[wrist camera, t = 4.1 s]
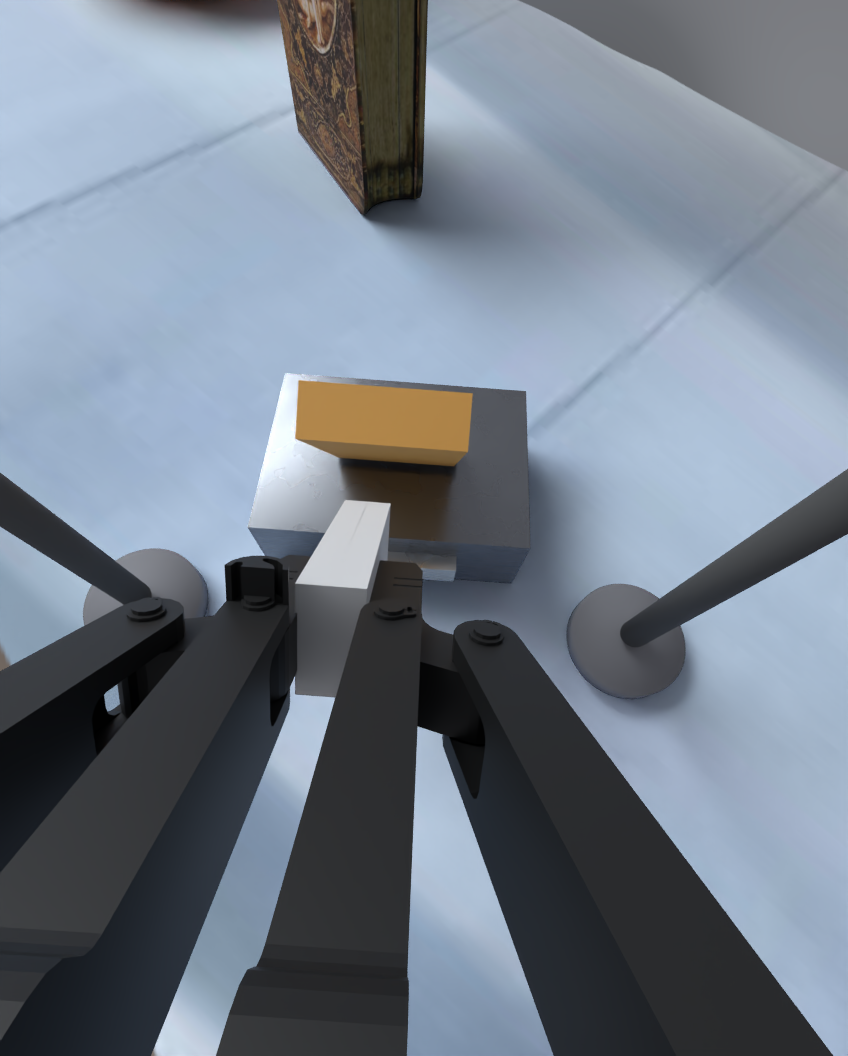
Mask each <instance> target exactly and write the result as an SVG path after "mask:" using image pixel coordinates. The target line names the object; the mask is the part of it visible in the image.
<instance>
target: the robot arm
mask: <svg viewBox="0 0 848 1056" xmlns="http://www.w3.org/2000/svg"><path fill="white" fill-rule="evenodd" d="M390 506H391V503H379V502H366V501H353V500H345V501H344V503H343V504H342V506H341V508H340V509H339V511H338V513H337V514H336V516H335V518H334V519H333V521H332V523H331V524H330V526H329V528H328V529H327V531H326V533H325V534H324V536H323V538H322V539H321V541H320V543H319V544H318V546H317V548H316V549H315V551H314V553H313V554H312V556H299V555H287V556H285V557H283V558H281V559H279V558H277V557H270V556H249V557H242V558H239V559H235V560H232V561H230V562H229V563H227V564H226V565H225V581H226V602H225V603H224V604H223V606H222V607H221V608H220V609H219V610H218V612H217V613H216V614H215V615H214V616H208V617H198V618H186V619H184V607H183V606H182V605H181V604H180V602H177V601H175V600H172V599H165V598H160V597H152V598H151V597H150V598H143V599H141V600H138V601H133V602H130V603H128V604H125V605H123V606H120V607H118V608H116V609H115V610H113V611H111V612H109V613H107V614H105V615H103V616H102V617H100V618H98V619H96V620H94V621H92V622H91V623H89V624H87V625H85V626H83V627H81V628H79V629H78V630H76V631H74V632H72V633H70V634H68V635H67V636H65V637H63V638H61V639H59V640H57V641H56V642H54V643H52V644H50V645H48V646H46V647H44V648H43V649H41V650H39V651H37V652H35V653H33V654H32V655H30V656H28V657H26V658H24V659H22V660H20V661H19V662H17V663H15V664H13V665H11V666H9V667H8V668H6V669H4V670H2V671H0V1056H151V1054H152V1051H153V1049H154V1047H155V1044H156V1042H157V1039H158V1037H159V1034H160V1032H161V1029H162V1027H163V1024H164V1022H165V1019H166V1017H167V1014H168V1012H169V1009H170V1006H171V1004H172V1001H173V999H174V996H175V994H176V991H177V989H178V986H179V984H180V981H181V979H182V976H183V974H184V971H185V969H186V966H187V964H188V961H189V959H190V956H191V954H192V951H193V949H194V946H195V944H196V941H197V939H198V936H199V934H200V931H201V929H202V926H203V924H204V921H205V919H206V916H207V914H208V911H209V909H210V906H211V904H212V901H213V899H214V896H215V894H216V891H217V889H218V886H219V884H220V881H221V879H222V876H223V874H224V871H225V869H226V866H227V864H228V861H229V859H230V856H231V854H232V851H233V849H234V846H235V844H236V841H237V839H238V836H239V833H240V831H241V828H242V826H243V823H244V821H245V818H246V816H247V813H248V811H249V808H250V806H251V803H252V801H253V798H254V796H255V793H256V791H257V788H258V786H259V783H260V781H261V778H262V776H263V773H264V771H265V768H266V766H267V763H268V761H269V758H270V756H271V753H272V751H273V748H274V746H275V743H276V741H277V738H278V736H279V733H280V731H281V728H282V726H283V723H284V721H285V718H286V716H287V713H288V711H289V706H290V686H291V683H292V681H293V679H294V676H295V694H297V695H311V696H325V697H336V698H335V701H334V705H333V708H332V712H331V715H330V719H329V722H328V726H327V729H326V733H325V736H324V740H323V743H322V747H321V750H320V754H319V757H318V761H317V764H316V768H315V771H314V775H313V778H312V782H311V785H310V789H309V792H308V796H307V799H306V803H305V806H304V810H303V813H302V817H301V820H300V824H299V827H298V831H297V834H296V838H295V841H294V845H293V848H292V852H291V855H290V859H289V862H288V866H287V869H286V873H285V876H284V880H283V883H282V887H281V890H280V894H279V897H278V901H277V904H276V908H275V911H274V915H273V919H272V922H271V926H270V929H269V933H268V936H267V940H266V943H265V946H264V949H263V952H262V955H261V958H260V960H259V962H258V964H257V966H256V967H253V968H250V969H248V970H247V971H246V973H245V975H244V977H243V979H242V981H241V983H240V985H239V987H238V990H237V993H236V996H235V999H234V1001H233V1004H232V1007H231V1010H230V1013H229V1016H228V1019H227V1022H226V1025H225V1029H224V1032H223V1035H222V1038H221V1041H220V1045H219V1048H218V1051H217V1054H216V1056H407V1033H408V1001H409V980H408V977H407V966H408V940H409V915H410V891H411V867H412V843H413V819H414V795H415V771H416V747H417V726H419V727H422V728H425V729H428V730H431V731H434V732H437V733H440V734H443V737H442V739H443V747H444V750H445V753H446V756H447V758H448V761H449V764H450V767H451V770H452V772H453V775H454V778H455V781H456V784H457V786H458V789H459V792H460V795H461V798H462V800H463V803H464V806H465V809H466V812H467V814H468V817H469V820H470V823H471V826H472V828H473V831H474V834H475V837H476V840H477V842H478V845H479V848H480V851H481V854H482V856H483V859H484V862H485V865H486V868H487V870H488V873H489V876H490V879H491V882H492V884H493V887H494V890H495V893H496V896H497V898H498V901H499V904H500V907H501V910H502V912H503V915H504V918H505V921H506V924H507V926H508V929H509V932H510V935H511V938H512V940H513V943H514V946H515V949H516V952H517V954H518V957H519V960H520V963H521V965H522V968H523V971H524V974H525V977H526V979H527V982H528V985H529V988H530V991H531V993H532V996H533V999H534V1002H535V1005H536V1007H537V1010H538V1013H539V1016H540V1019H541V1021H542V1024H543V1027H544V1030H545V1033H546V1035H547V1038H548V1041H549V1044H550V1047H551V1049H552V1052H553V1055H554V1056H833V1055H832V1053H831V1052H830V1051H829V1049H828V1048H827V1047H826V1045H825V1044H824V1043H823V1041H822V1040H821V1039H820V1037H819V1036H818V1035H817V1033H816V1032H815V1031H814V1029H813V1028H812V1027H811V1025H810V1024H809V1023H808V1021H807V1020H806V1019H805V1017H804V1016H803V1015H802V1014H801V1012H800V1011H799V1010H798V1008H797V1007H796V1006H795V1004H794V1003H793V1002H792V1000H791V999H790V998H789V996H788V995H787V994H786V992H785V991H784V990H783V988H782V987H781V986H780V984H779V983H778V982H777V980H776V979H775V978H774V976H773V975H772V974H771V972H770V971H769V970H768V968H767V967H766V966H765V964H764V963H763V962H762V960H761V959H760V958H759V956H758V955H757V954H756V952H755V951H754V950H753V948H752V947H751V946H750V944H749V943H748V942H747V940H746V939H745V938H744V936H743V935H742V934H741V932H740V931H739V930H738V928H737V927H736V926H735V924H734V923H733V922H732V920H731V919H730V918H729V916H728V915H727V914H726V912H725V911H724V910H723V908H722V907H721V906H720V904H719V903H718V902H717V900H716V899H715V898H714V896H713V895H712V894H711V892H710V891H709V890H708V888H707V887H706V886H705V884H704V883H703V882H702V880H701V879H700V878H699V876H698V875H697V874H696V872H695V871H694V870H693V868H692V867H691V866H690V864H689V863H688V862H687V860H686V859H685V858H684V856H683V855H682V854H681V852H680V851H679V850H678V848H677V847H676V846H675V844H674V843H673V842H672V840H671V839H670V838H669V836H668V835H667V834H666V832H665V831H664V830H663V828H662V827H661V826H660V824H659V823H658V822H657V820H656V819H655V818H654V816H653V815H652V814H651V812H650V811H649V810H648V808H647V807H646V806H645V804H644V803H643V802H642V800H641V799H640V798H639V796H638V795H637V794H636V792H635V791H634V790H633V788H632V787H631V786H630V784H629V783H628V782H627V780H626V779H625V778H624V776H623V775H622V774H621V773H620V771H619V770H618V769H617V767H616V766H615V765H614V763H613V762H612V761H611V759H610V758H609V757H608V755H607V754H606V753H605V751H604V750H603V749H602V747H601V746H600V745H599V743H598V742H597V741H596V739H595V738H594V737H593V735H592V734H591V733H590V731H589V730H588V729H587V727H586V726H585V725H584V723H583V722H582V721H581V719H580V718H579V717H578V715H577V714H576V713H575V711H574V710H573V709H572V707H571V706H570V705H569V703H568V702H567V701H566V699H565V698H564V697H563V695H562V694H561V693H560V691H559V690H558V689H557V687H556V686H555V685H554V683H553V682H552V681H551V679H550V678H549V677H548V675H547V674H546V673H545V671H544V670H543V669H542V667H541V666H540V665H539V663H538V662H537V661H536V659H535V658H534V657H533V655H532V654H531V653H530V651H529V650H528V649H527V647H526V646H525V645H524V643H523V642H522V641H521V639H520V638H519V637H518V635H517V634H516V633H515V632H513V631H512V630H511V629H510V628H508V627H506V626H504V625H502V624H500V623H497V622H494V621H493V622H492V621H489V620H474V621H467V622H464V623H462V624H460V625H458V626H457V627H456V629H455V630H454V635H452V634H448V633H445V632H442V631H439V630H436V629H434V628H432V627H430V626H429V625H428V624H427V623H425V621H424V620H423V619H422V614H421V603H422V577H423V571H422V570H421V568H420V567H419V566H418V565H417V564H416V563H409V562H396V561H387V557H388V540H389V523H390ZM117 684H118V692H119V700H120V705H118V706H117V707H116V708H114V709H113V710H111V711H109V712H107V710H106V707H105V699H104V694H105V693H106V692H107V691H108V690H110V689H111V688H113V687H114V686H115V685H117Z"/></svg>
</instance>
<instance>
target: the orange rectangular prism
mask: <svg viewBox="0 0 848 1056" xmlns="http://www.w3.org/2000/svg"><path fill="white" fill-rule="evenodd" d="M472 395H473V393H461V392H448V391H435V390H422V389H408V388H395V387H382V386H369V385H356V384H342V383H329V382H316V381H303V380H299V382H298V399H297V416H296V433H295V439H297V440H299V441H301V442H304V443H306V444H308V445H311V446H313V447H315V448H318V449H320V450H322V451H325V452H327V453H329V454H331V455H334V456H336V457H338V458H349V459H362V460H376V461H389V462H402V463H416V464H429V465H442V466H455V465H456V464H457V463H458V462H459V461H460V460H461V458H462V457H463V456H464V455H465V454H466V453H467V452H468V446H469V433H470V421H471V408H472Z"/></svg>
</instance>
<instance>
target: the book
mask: <svg viewBox="0 0 848 1056" xmlns="http://www.w3.org/2000/svg"><path fill="white" fill-rule="evenodd" d="M277 3H278V9H279V16H280V22H281V28H282V34H283V40H284V46H285V52H286V59H287V65H288V71H289V77H290V83H291V89H292V95H293V102H294V108H295V114H296V120H297V126H298V132H299V133H300V134H301V136H302V137H303V138H304V140H305V141H306V142H307V144H308V145H309V146H310V148H311V149H312V150H313V152H314V153H315V154H316V156H317V157H318V158H319V160H320V161H321V162H322V164H323V165H324V166H325V168H326V169H327V170H328V172H329V173H330V174H331V176H332V177H333V178H334V180H335V181H336V182H337V184H338V185H339V186H340V188H341V189H342V190H343V192H344V193H345V194H346V196H347V197H348V198H349V199H350V201H351V202H352V203H353V204H354V205H355V207H356V208H357V209H358V210H359V211H360V213H361V214H366V213H368V210H369V209H370V208H371V207H372V206H374V205H375V204H377V203H380V202H383V201H386V200H391V199H401V198H410V199H417V198H420V196H421V192H422V183H423V156H424V119H425V82H426V46H427V9H428V0H277Z"/></svg>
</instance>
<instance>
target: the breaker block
mask: <svg viewBox="0 0 848 1056" xmlns="http://www.w3.org/2000/svg"><path fill="white" fill-rule="evenodd" d="M299 380H303V381H316V382H329V383H342V384H356V385H369V386H382V387H395V388H408V389H422V390H435V391H448V392H461V393H473V395H472V408H471V421H470V433H469V446H468V452H467V453H466V454H465V455H464V456H463V457H462V458H461V460H460V461H459V462H458V463H457V464H456V465H455V466H442V465H429V464H416V463H402V462H389V461H376V460H362V459H349V458H338V457H336V456H334V455H331V454H329V453H327V452H325V451H322V450H320V449H318V448H315V447H313V446H311V445H308V444H306V443H304V442H301V441H299V440H297V439H295V433H296V416H297V399H298V382H299ZM345 500H353V501H366V502H379V503H391V506H390V523H389V540H388V557H387V561H396V562H409V563H416V564H417V565H418V566H419V567H420V568H421V570H422V571H423V577H422V579H425V580H439V581H452V582H453V581H454V579H460V580H473V581H486V582H500V583H512V581H513V579H514V578H515V576H516V574H517V572H518V570H519V568H520V566H521V565H522V563H523V561H524V559H525V557H526V555H527V553H528V552H529V550H530V520H529V484H528V448H527V412H526V391H515V390H501V389H488V388H475V387H462V386H448V385H435V384H422V383H409V382H395V381H382V380H369V379H356V378H342V377H329V376H316V375H303V374H290V373H285V376H284V381H283V385H282V389H281V393H280V397H279V401H278V405H277V409H276V413H275V417H274V421H273V425H272V429H271V434H270V438H269V442H268V446H267V450H266V454H265V458H264V462H263V466H262V470H261V474H260V478H259V483H258V487H257V491H256V495H255V499H254V503H253V507H252V511H251V515H250V519H249V523H248V529H249V530H250V532H251V534H252V535H253V537H254V538H255V540H256V542H257V543H258V545H259V547H260V548H261V550H262V551H263V553H264V555H265V556H270V557H277V558H279V559H281V558H283V557H285V556H287V555H299V556H312V554H313V553H314V551H315V549H316V548H317V546H318V544H319V543H320V541H321V539H322V538H323V536H324V534H325V533H326V531H327V529H328V528H329V526H330V524H331V523H332V521H333V519H334V518H335V516H336V514H337V513H338V511H339V509H340V508H341V506H342V504H343V503H344V501H345Z"/></svg>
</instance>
